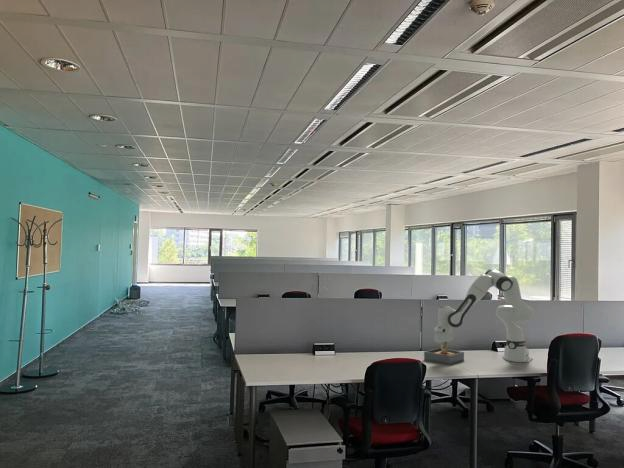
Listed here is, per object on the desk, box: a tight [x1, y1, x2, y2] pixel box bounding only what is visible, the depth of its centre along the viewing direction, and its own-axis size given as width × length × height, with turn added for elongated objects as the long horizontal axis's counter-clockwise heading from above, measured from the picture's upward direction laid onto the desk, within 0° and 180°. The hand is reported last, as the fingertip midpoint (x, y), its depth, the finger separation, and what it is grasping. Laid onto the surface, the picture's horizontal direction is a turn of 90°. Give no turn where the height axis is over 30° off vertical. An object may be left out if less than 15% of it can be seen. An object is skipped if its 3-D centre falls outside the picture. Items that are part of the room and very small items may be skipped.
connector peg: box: [441, 342, 448, 355], centre depth 330 cm, size 4×4×9 cm
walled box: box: [423, 347, 465, 366], centre depth 330 cm, size 20×20×6 cm
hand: (444, 348), depth 330 cm, fingers closed on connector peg, 4 cm apart
